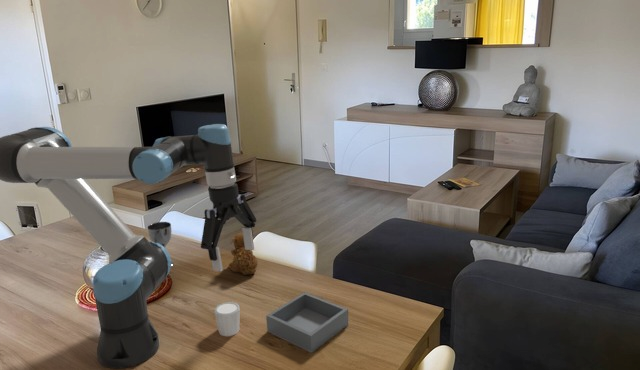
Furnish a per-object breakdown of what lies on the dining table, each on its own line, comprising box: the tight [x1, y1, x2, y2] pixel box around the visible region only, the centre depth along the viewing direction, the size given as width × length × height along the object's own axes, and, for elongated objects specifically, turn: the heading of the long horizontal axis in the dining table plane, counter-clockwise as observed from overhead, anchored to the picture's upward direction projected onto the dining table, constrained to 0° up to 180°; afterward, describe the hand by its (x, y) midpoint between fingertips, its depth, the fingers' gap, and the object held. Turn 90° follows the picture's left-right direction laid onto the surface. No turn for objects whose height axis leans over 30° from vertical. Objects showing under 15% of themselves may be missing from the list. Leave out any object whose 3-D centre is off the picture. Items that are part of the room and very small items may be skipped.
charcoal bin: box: [265, 291, 349, 354], centre depth 135 cm, size 16×16×5 cm
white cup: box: [213, 301, 241, 337], centre depth 135 cm, size 7×7×7 cm
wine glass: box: [147, 221, 175, 267], centre depth 176 cm, size 8×8×15 cm
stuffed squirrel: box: [228, 232, 258, 276], centre depth 170 cm, size 10×14×13 cm
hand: (234, 259), depth 133 cm, fingers open, 13 cm apart
